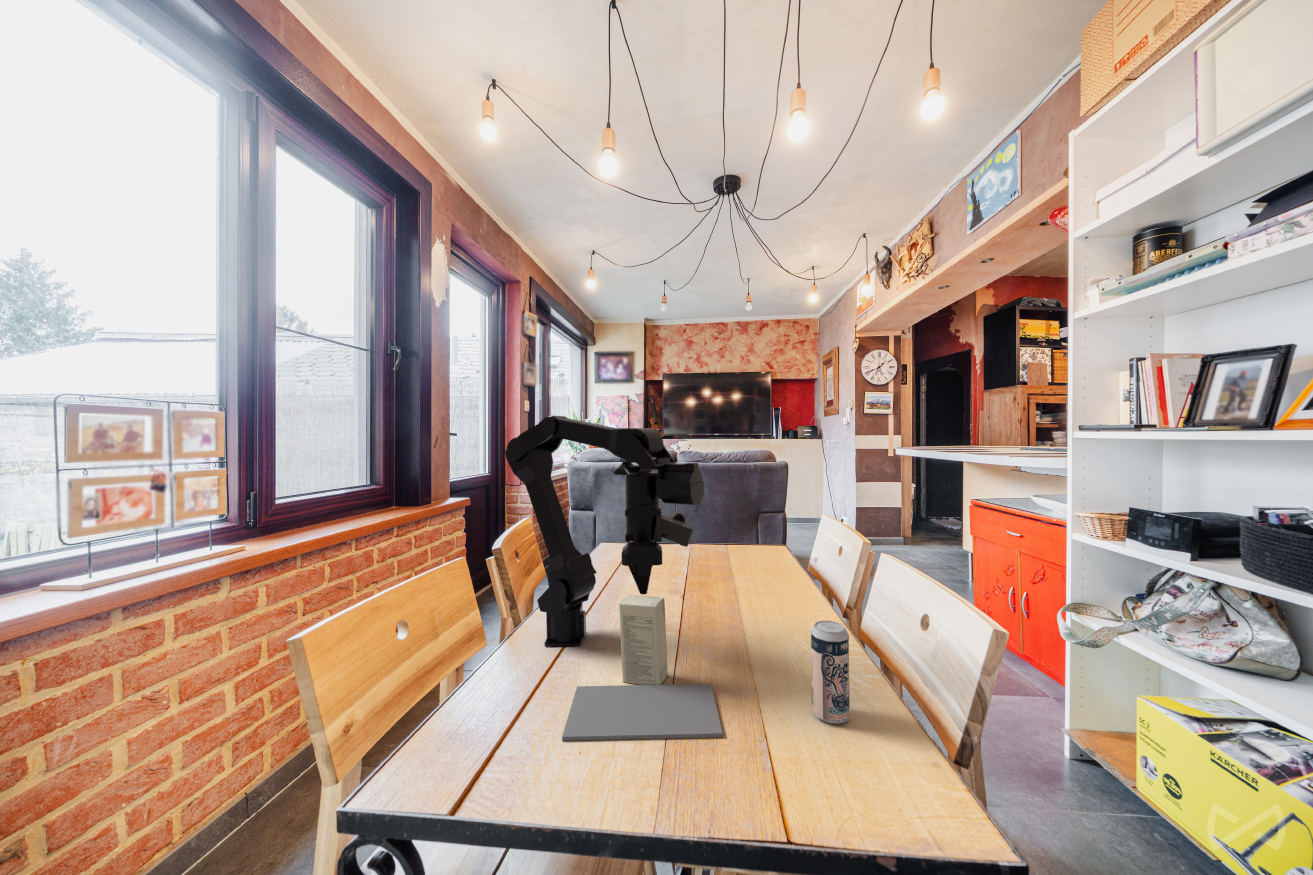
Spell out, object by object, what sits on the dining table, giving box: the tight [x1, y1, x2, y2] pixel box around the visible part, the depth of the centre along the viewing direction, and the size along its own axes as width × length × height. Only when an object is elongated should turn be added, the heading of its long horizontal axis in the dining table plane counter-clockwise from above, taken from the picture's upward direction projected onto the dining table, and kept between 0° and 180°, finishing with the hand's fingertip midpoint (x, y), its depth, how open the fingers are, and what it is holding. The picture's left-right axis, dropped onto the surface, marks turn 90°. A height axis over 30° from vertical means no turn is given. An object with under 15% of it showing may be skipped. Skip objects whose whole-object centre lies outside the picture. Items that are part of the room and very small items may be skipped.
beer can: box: [810, 620, 851, 725], centre depth 64 cm, size 5×5×12 cm
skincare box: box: [618, 594, 669, 685], centre depth 75 cm, size 6×4×12 cm
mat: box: [561, 683, 724, 742], centre depth 66 cm, size 20×12×1 cm, turn 91°
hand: (643, 593), depth 82 cm, fingers closed
